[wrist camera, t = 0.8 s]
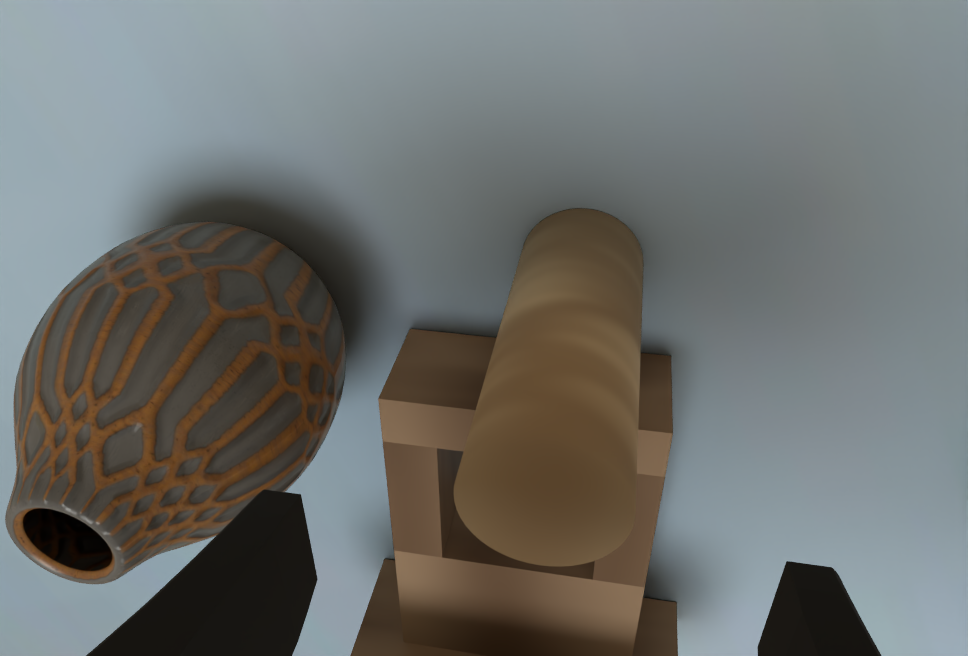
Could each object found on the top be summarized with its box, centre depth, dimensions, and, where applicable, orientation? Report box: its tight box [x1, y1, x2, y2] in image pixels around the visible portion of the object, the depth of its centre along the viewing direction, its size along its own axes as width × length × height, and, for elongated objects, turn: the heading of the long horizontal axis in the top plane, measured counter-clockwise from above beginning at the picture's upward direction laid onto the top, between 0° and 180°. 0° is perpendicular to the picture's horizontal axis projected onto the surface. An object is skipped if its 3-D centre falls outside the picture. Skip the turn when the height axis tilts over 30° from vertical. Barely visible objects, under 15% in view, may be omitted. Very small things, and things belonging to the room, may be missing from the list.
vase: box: [5, 222, 346, 584], centre depth 18 cm, size 7×7×9 cm
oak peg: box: [454, 208, 643, 567], centre depth 16 cm, size 3×3×8 cm
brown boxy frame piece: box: [351, 329, 678, 656], centre depth 21 cm, size 10×11×7 cm
